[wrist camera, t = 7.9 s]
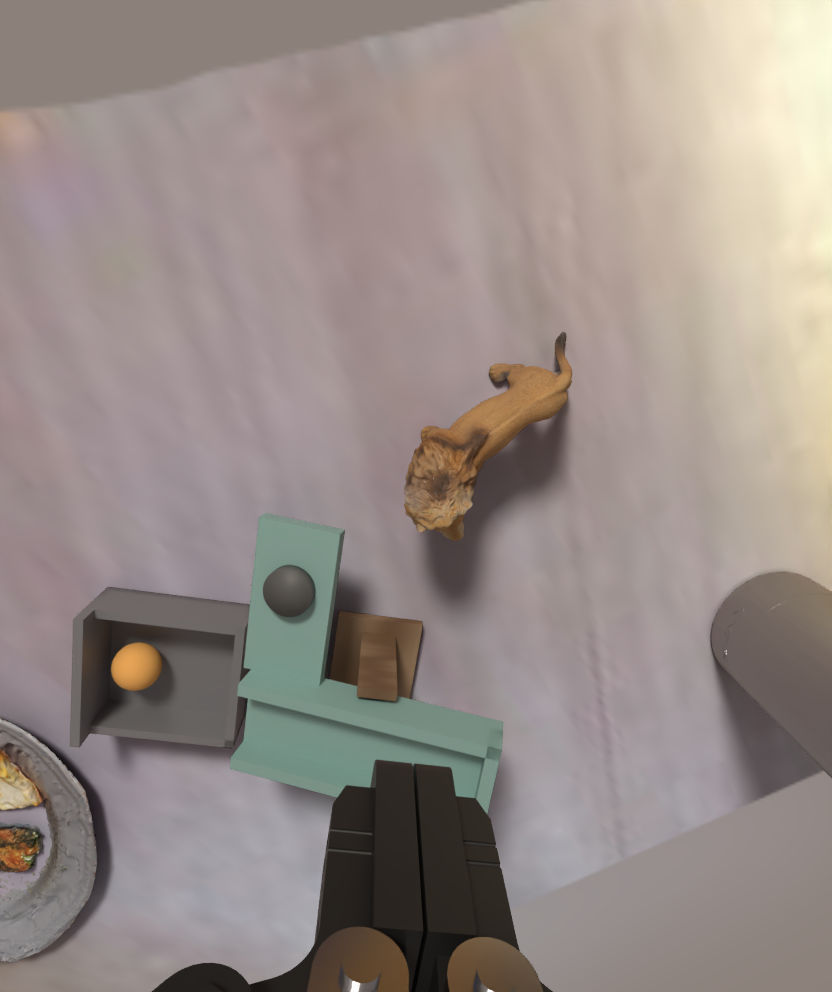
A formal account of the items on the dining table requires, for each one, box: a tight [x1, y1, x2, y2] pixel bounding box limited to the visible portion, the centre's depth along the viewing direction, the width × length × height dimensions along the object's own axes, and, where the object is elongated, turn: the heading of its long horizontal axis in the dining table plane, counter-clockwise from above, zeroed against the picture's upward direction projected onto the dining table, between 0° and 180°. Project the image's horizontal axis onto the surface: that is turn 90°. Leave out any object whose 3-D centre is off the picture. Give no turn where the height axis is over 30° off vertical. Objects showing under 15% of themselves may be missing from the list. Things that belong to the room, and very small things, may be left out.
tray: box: [70, 587, 250, 748], centre depth 43 cm, size 10×9×5 cm
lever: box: [230, 513, 503, 814], centre depth 37 cm, size 16×16×3 cm
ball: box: [111, 642, 162, 691], centre depth 43 cm, size 3×3×3 cm
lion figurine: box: [404, 332, 572, 541], centre depth 37 cm, size 15×5×9 cm, turn 138°
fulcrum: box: [330, 611, 422, 701], centre depth 42 cm, size 6×10×8 cm, turn 171°
